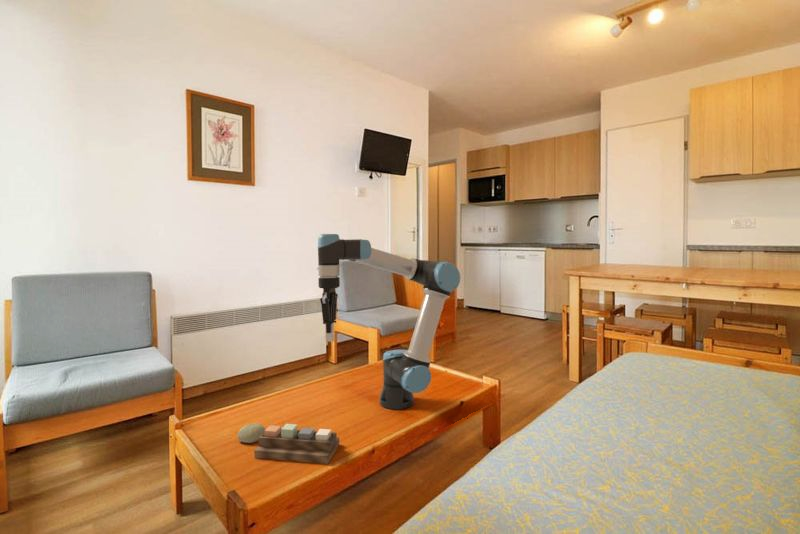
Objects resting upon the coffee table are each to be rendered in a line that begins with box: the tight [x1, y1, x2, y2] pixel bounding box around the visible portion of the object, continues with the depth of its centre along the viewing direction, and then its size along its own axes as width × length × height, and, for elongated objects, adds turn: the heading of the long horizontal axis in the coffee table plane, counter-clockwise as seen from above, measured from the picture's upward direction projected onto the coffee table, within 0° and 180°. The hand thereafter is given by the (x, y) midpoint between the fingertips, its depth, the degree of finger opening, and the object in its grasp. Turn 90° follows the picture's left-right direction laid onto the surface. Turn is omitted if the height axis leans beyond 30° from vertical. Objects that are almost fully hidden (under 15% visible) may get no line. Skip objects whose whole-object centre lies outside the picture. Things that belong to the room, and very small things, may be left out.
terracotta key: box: [264, 424, 282, 438], centre depth 134 cm, size 4×4×4 cm
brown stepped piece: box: [253, 429, 340, 465], centre depth 132 cm, size 25×12×6 cm, turn 82°
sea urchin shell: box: [237, 422, 266, 444], centre depth 141 cm, size 9×8×8 cm
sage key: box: [281, 423, 298, 439], centre depth 133 cm, size 4×4×4 cm
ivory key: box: [316, 428, 332, 441], centre depth 131 cm, size 4×4×4 cm
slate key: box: [298, 427, 315, 440], centre depth 132 cm, size 4×4×4 cm
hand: (329, 341), depth 143 cm, fingers closed
